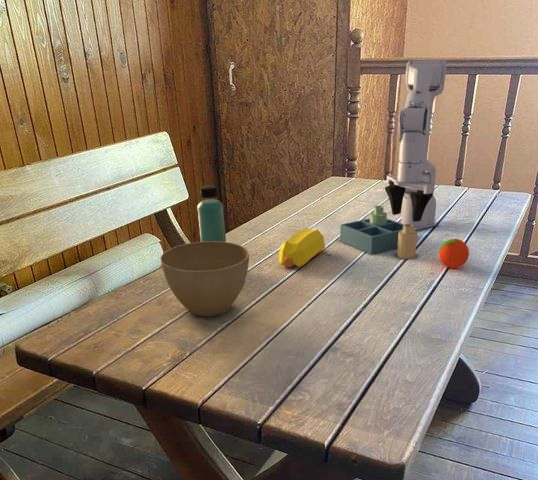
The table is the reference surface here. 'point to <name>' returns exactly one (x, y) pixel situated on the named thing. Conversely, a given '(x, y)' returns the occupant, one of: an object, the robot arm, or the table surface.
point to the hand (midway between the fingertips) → (406, 217)
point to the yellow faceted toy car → (301, 247)
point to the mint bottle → (378, 216)
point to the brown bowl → (206, 275)
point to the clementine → (453, 253)
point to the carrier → (371, 235)
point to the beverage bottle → (211, 216)
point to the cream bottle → (407, 242)
